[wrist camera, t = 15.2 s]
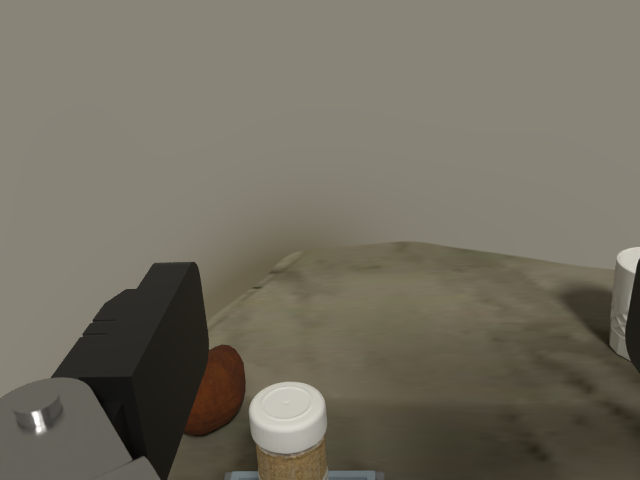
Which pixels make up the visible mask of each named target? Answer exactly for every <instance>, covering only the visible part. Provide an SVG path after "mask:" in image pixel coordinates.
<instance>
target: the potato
mask: <svg viewBox="0 0 640 480" xmlns="http://www.w3.org/2000/svg"><path fill="white" fill-rule="evenodd" d="M244 394H245V373H244V364H243V361H242V359H241V357H240V355H239V354H238V353H237V351H236V350H235V349H234V348H232V347H231V346H229V345H220V346H217V347H214V348H213V349H211V350H209V353H208V362H207V367H206V370H205V373H204V376H203V378H202V381H201V384H200V387H199V390H198V393H197V396H196V398H195V401H194V404H193V407H192V410H191V413H190V415H189V418H188V421H187V424H186V427H185V430H184V433H187V434H191V435H195V436H196V435H205V434H207V433H210V432H212V431H214V430H216V429H218V428H220V427H221V426H223V425H225V424H227V423H228V422H229V421H230V420H231V419H232V418H233V417H234V416H235V414H236V413H237V411H238V410H239V408H240V406H241V404H242V402H243V398H244Z"/></svg>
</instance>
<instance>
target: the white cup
mask: <svg viewBox="0 0 640 480" xmlns="http://www.w3.org/2000/svg"><path fill="white" fill-rule="evenodd" d="M639 258H640V247H634V248H629V249H625V250H623V251H621V252H620V253H618V255H617V257H616V267H615V275H614V283H613V292H612V304H611V315H610V321H611V326H610V334H609V343H610V347H611V348H612V349H613V350H614V351H615V352H616V353H617V354H618V355H620V356H622V357H624V358H626V359H628V360H629V361H631V360H630V358H629V355H628V352H627V348H626V342H625V328H626V322H627V316H628V311H629V305H630V300H631V294H632V289H633V283H634V278H635V272H636V267H637V263H638V260H639Z"/></svg>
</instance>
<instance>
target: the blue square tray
mask: <svg viewBox="0 0 640 480" xmlns="http://www.w3.org/2000/svg"><path fill="white" fill-rule="evenodd" d="M328 474H329V480H385V478H384V472H375V471H328ZM224 480H259V478H258V471H232V473H226V474H225V478H224Z"/></svg>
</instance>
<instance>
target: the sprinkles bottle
mask: <svg viewBox="0 0 640 480" xmlns="http://www.w3.org/2000/svg"><path fill="white" fill-rule="evenodd" d="M249 419H250V429H251V435H252V438H253V440H254V442H255V444H256V452H257V463H258V478H259V480H329V474H328V467H327V462H326V448H325V431H326V428H327V417H326V407H325V401H324V398H323V396H322V395H321V393H320V392H319V391H318V390H317V389H315V388H314V387H312V386H310V385H308V384H304V383H300V382H282V383H277V384H274V385H271V386H269V387H266V388H265V389H263V390H261V391H260V392H259V393H258V394H257V395H256V396H255V397H254V398H253V400H252V401H251V404H250V407H249Z"/></svg>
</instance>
